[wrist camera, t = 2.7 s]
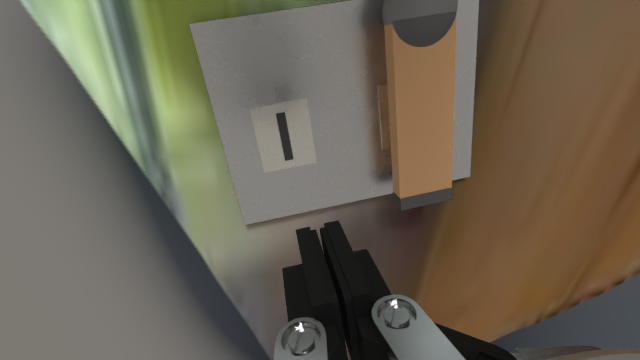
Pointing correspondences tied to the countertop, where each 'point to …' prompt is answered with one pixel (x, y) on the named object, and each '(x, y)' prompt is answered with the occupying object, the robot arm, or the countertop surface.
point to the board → (315, 103)
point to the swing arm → (420, 98)
